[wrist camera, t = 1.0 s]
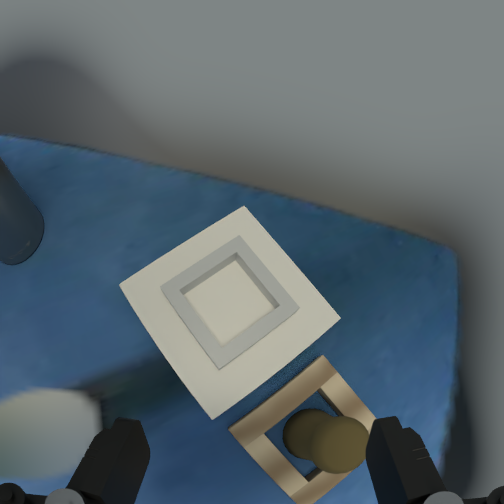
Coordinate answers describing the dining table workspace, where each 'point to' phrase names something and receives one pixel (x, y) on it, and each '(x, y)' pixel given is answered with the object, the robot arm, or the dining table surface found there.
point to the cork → (326, 440)
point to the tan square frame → (280, 405)
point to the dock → (228, 310)
